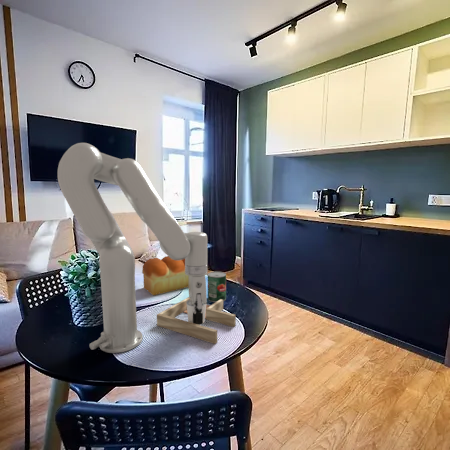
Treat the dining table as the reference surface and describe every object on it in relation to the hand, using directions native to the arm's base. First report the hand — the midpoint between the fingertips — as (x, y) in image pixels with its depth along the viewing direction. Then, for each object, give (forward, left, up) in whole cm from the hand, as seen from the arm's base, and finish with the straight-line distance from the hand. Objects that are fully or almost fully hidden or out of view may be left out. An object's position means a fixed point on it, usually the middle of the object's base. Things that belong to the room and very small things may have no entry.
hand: (196, 319), depth 97 cm
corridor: (+5, 0, -2) cm, 5 cm away
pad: (+11, +5, -2) cm, 13 cm away
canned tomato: (+24, +6, -3) cm, 25 cm away
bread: (+27, +33, -3) cm, 43 cm away
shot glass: (0, 0, -1) cm, 1 cm away
